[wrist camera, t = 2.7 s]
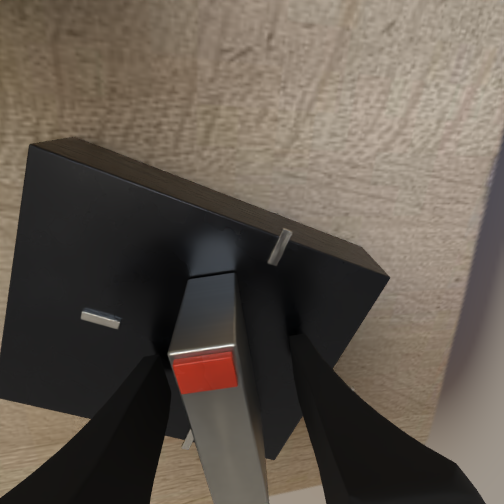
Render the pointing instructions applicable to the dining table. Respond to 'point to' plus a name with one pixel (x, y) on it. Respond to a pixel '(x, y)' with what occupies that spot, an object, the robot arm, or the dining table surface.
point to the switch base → (162, 284)
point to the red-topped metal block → (220, 389)
